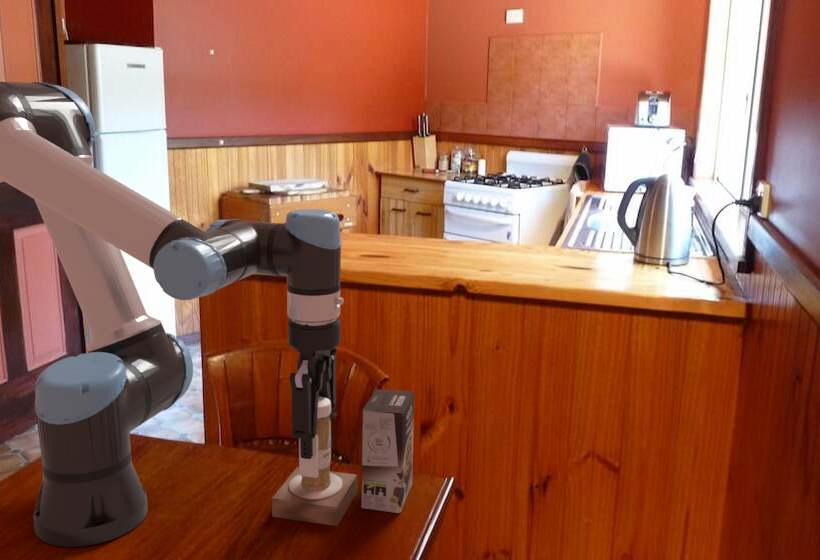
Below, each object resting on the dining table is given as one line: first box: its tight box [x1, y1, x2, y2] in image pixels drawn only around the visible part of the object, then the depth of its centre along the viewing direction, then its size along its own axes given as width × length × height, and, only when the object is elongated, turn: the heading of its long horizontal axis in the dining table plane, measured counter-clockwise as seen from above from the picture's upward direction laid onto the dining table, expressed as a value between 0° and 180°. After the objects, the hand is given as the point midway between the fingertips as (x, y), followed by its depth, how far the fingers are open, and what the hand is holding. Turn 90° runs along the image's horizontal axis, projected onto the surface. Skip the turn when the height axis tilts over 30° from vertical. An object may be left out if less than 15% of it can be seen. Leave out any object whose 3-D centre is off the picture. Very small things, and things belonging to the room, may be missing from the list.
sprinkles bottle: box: [301, 396, 331, 490], centre depth 110 cm, size 5×5×13 cm
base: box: [271, 466, 358, 527], centre depth 112 cm, size 10×10×3 cm
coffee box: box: [361, 388, 415, 514], centre depth 113 cm, size 9×6×16 cm
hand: (315, 466), depth 111 cm, fingers open, 5 cm apart
